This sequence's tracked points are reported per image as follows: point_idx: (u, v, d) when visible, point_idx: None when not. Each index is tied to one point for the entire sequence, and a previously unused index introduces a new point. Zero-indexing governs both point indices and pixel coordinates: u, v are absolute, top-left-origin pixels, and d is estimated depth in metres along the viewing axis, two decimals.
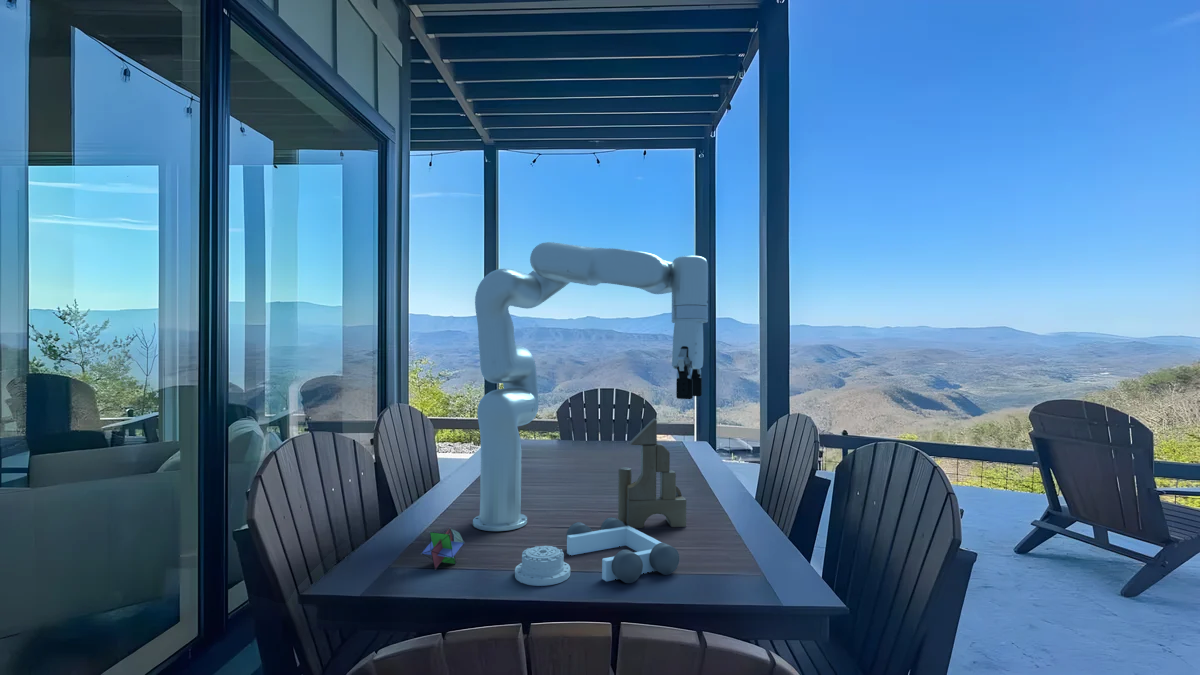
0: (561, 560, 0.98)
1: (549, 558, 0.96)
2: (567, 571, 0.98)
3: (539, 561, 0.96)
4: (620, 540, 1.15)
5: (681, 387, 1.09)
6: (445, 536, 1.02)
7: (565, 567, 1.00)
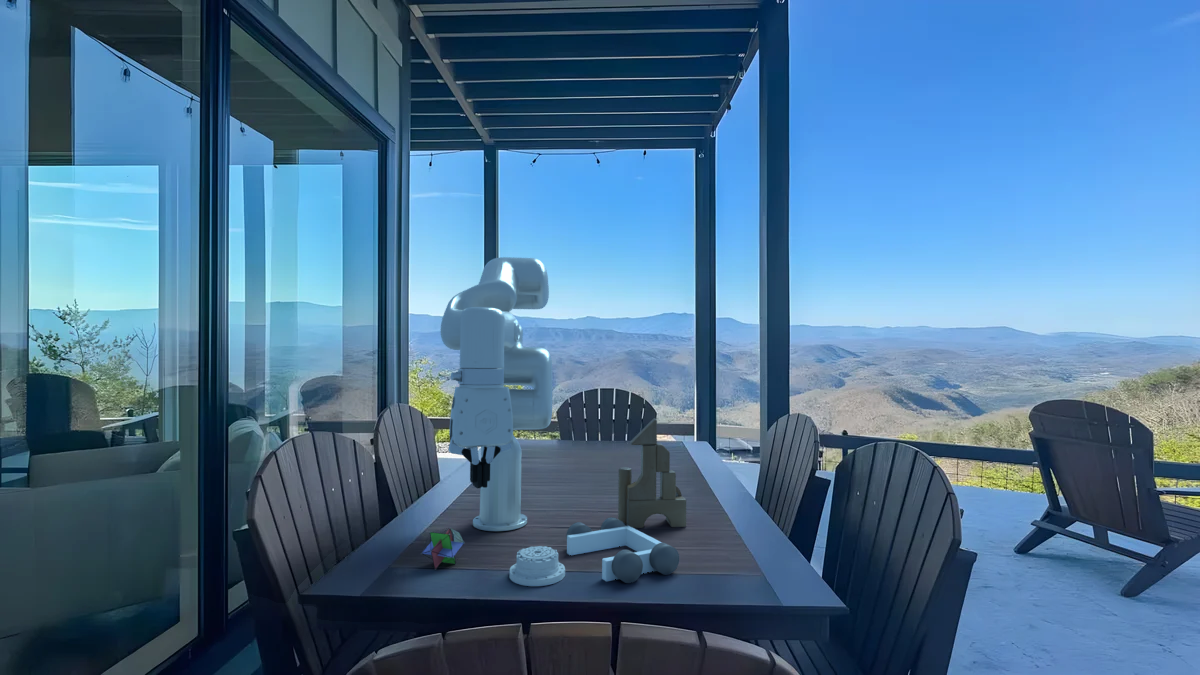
0: (556, 560, 0.98)
1: (544, 558, 0.96)
2: (562, 571, 0.98)
3: (533, 561, 0.95)
4: (620, 540, 1.15)
5: None
6: (445, 536, 1.02)
7: (560, 567, 1.00)
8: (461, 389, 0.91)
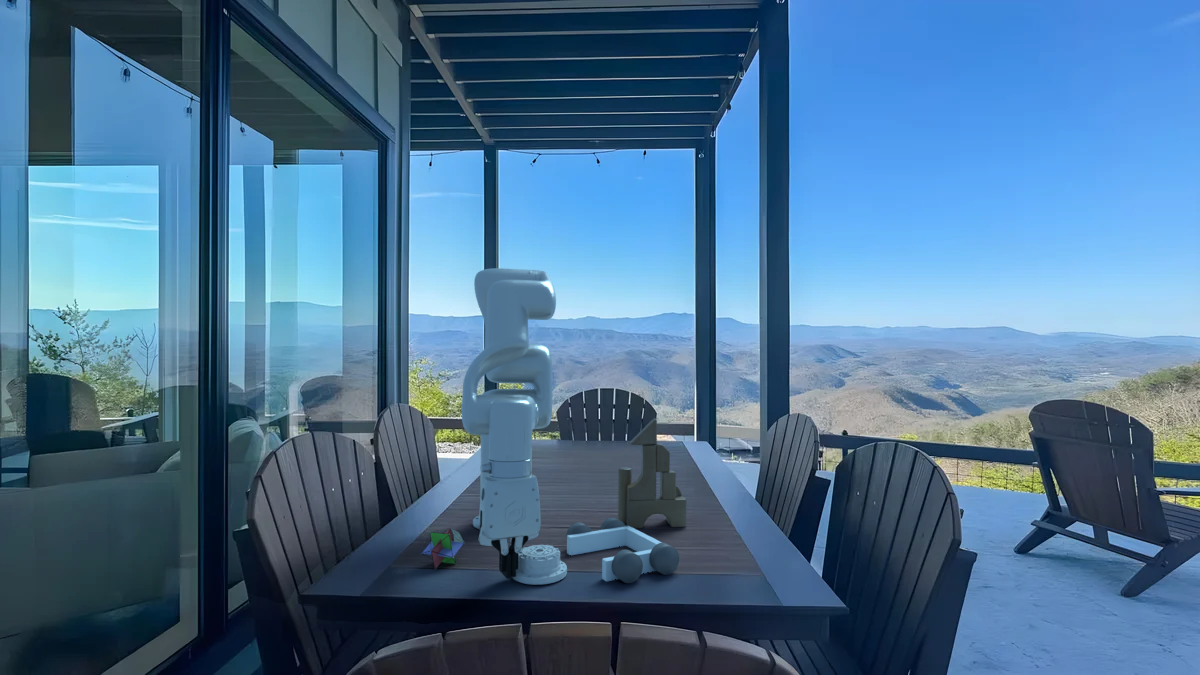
0: (558, 559, 0.98)
1: (546, 557, 0.96)
2: (564, 570, 0.98)
3: (536, 560, 0.96)
4: (620, 540, 1.15)
5: None
6: (445, 536, 1.02)
7: (562, 566, 1.00)
8: (491, 482, 0.93)
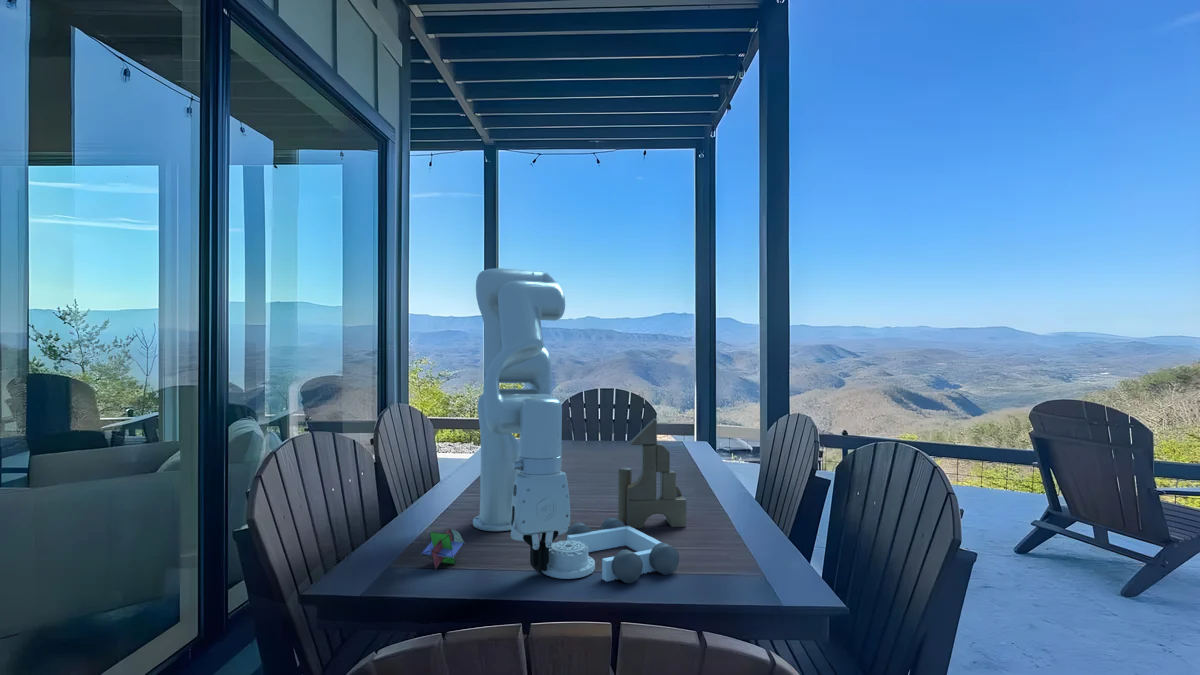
0: (586, 554, 1.01)
1: (576, 552, 0.99)
2: (592, 564, 1.01)
3: (566, 555, 0.98)
4: (620, 540, 1.15)
5: None
6: (445, 536, 1.02)
7: (590, 561, 1.03)
8: (523, 479, 0.96)
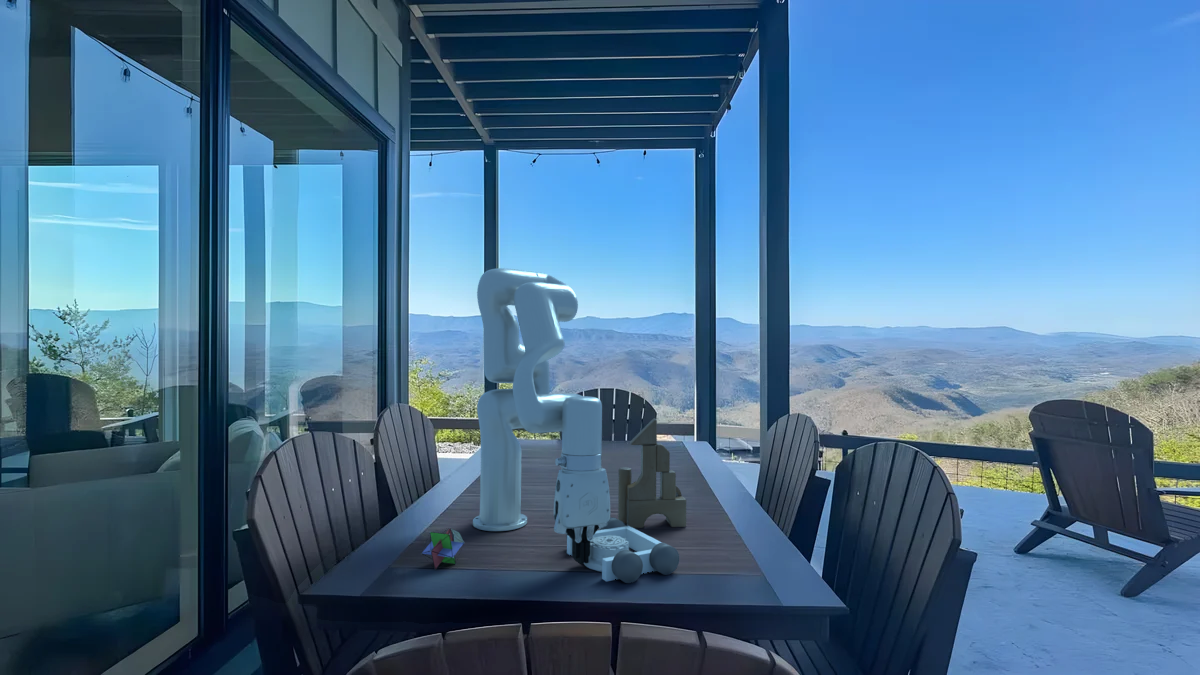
0: (627, 548, 1.04)
1: (617, 546, 1.03)
2: None
3: (608, 549, 1.02)
4: None
5: None
6: (445, 536, 1.02)
7: None
8: (566, 475, 1.00)
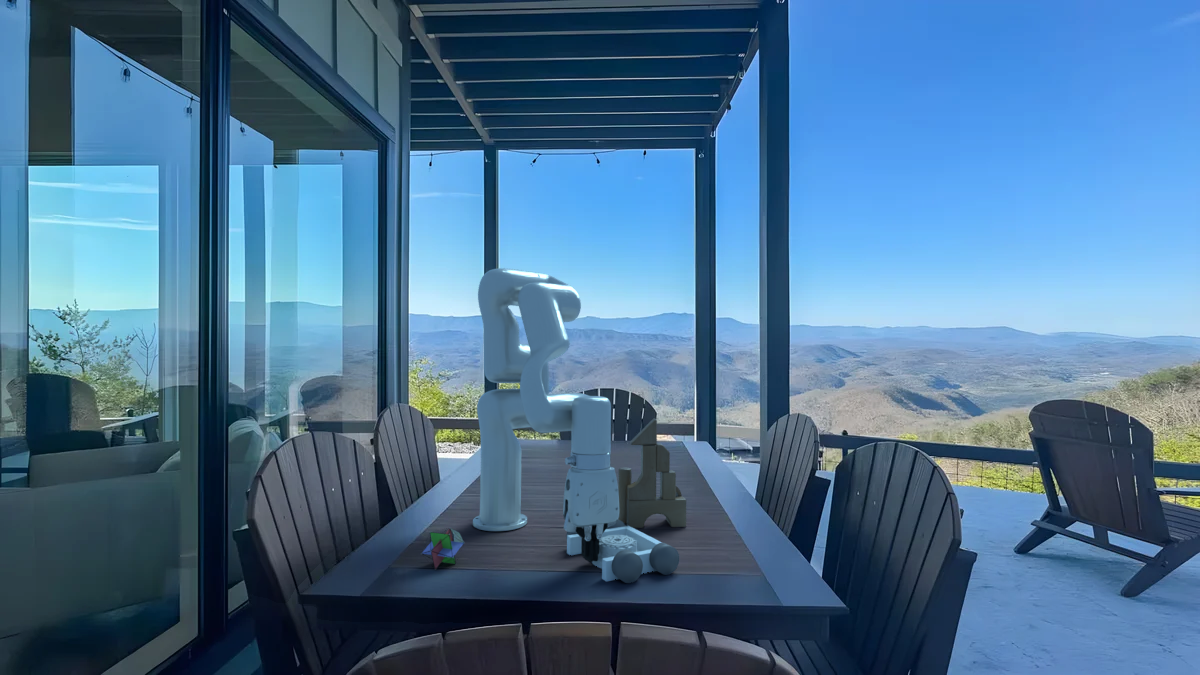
0: (636, 547, 1.05)
1: (626, 545, 1.04)
2: None
3: (617, 548, 1.03)
4: None
5: None
6: (445, 536, 1.02)
7: None
8: (576, 474, 1.01)
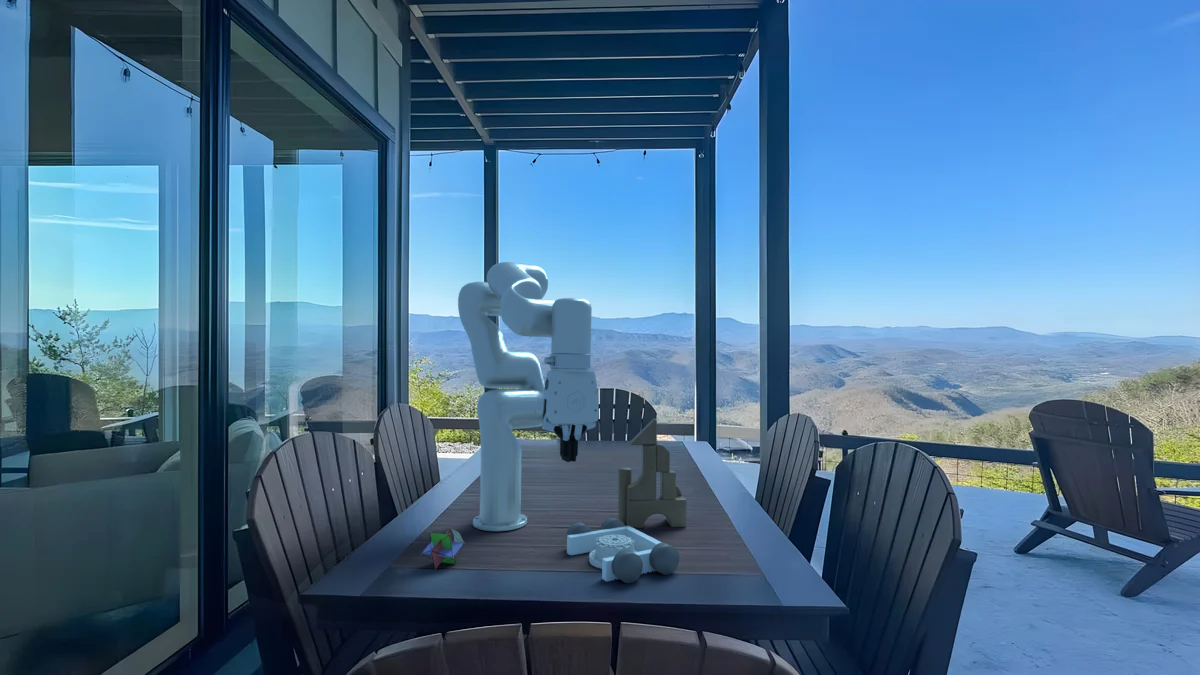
0: (633, 547, 1.05)
1: (624, 545, 1.04)
2: None
3: (615, 548, 1.03)
4: None
5: None
6: (445, 536, 1.02)
7: None
8: (555, 372, 1.01)
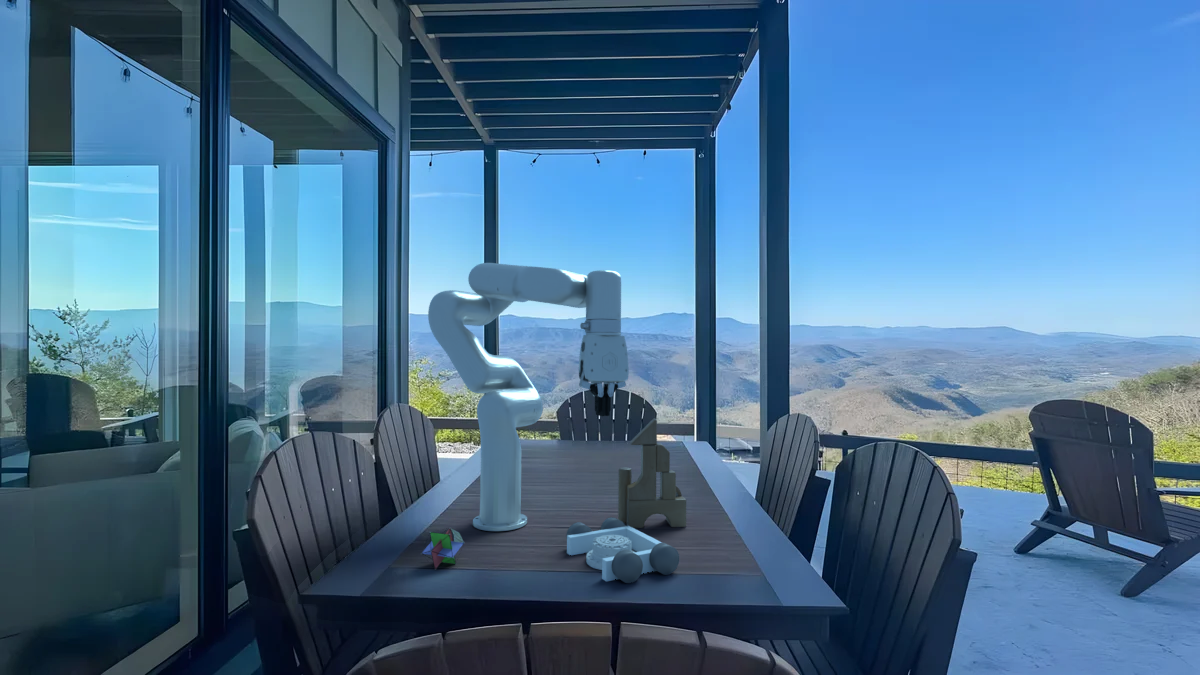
0: (630, 547, 1.05)
1: (621, 545, 1.03)
2: None
3: (612, 548, 1.03)
4: None
5: None
6: (445, 536, 1.02)
7: None
8: (591, 335, 1.13)
